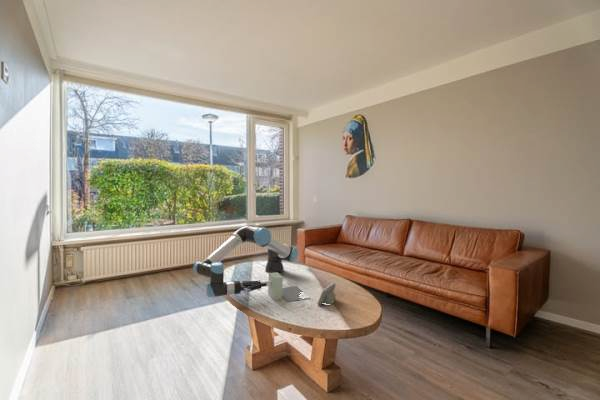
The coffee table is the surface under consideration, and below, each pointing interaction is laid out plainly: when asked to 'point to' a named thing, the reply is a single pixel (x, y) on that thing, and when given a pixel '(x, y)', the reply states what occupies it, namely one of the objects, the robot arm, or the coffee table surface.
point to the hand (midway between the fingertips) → (270, 283)
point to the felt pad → (291, 293)
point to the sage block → (275, 286)
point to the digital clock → (327, 295)
